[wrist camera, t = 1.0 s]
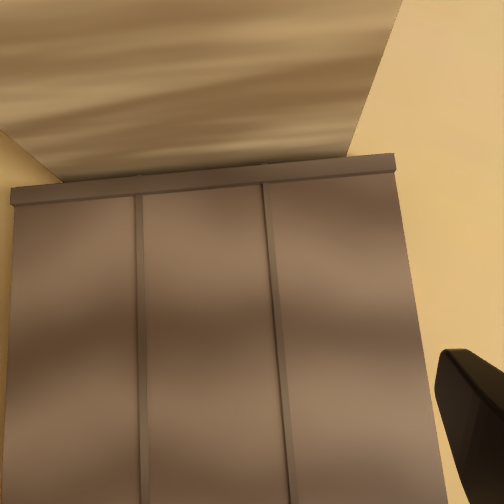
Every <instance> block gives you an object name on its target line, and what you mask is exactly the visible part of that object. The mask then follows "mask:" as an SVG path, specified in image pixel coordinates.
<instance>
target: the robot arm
mask: <svg viewBox="0 0 504 504" xmlns="http://www.w3.org/2000/svg"><path fill="white" fill-rule="evenodd" d="M434 390H435V397H436V401H437V404H438V408H439V411H440V414H441V418H442V421H443V424H444V428H445V431H446V435H447V438H448V441H449V445H450V448H451V451H452V455H453V458H454V461H455V465H456V468H457V471H458V474H459V477H460V480H461V483H462V486H463V488H464V491H465V493H466V496H467V498H468V501H469V503H470V504H504V372H502V371H501V370H499V369H497V368H496V367H494V366H493V365H491V364H490V363H488V362H487V361H485V360H483V359H482V358H480V357H479V356H477V355H476V354H474V353H473V352H471V351H469V350H467V349H445V350H443V351H442V352H441V354H440V357H439V362H438V368H437V374H436V379H435V387H434Z"/></svg>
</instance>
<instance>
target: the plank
mask: <svg viewBox="0 0 504 504" xmlns="http://www.w3.org/2000/svg"><path fill="white" fill-rule="evenodd" d="M401 3H402V0H0V130H1V131H2V132H4V133H5V134H6V135H7V136H8V137H10V138H11V139H12V140H13V141H14V142H16V143H17V144H18V145H19V146H20V147H22V148H23V149H24V150H25V151H26V152H28V153H29V154H30V155H31V156H32V157H34V158H35V159H36V160H37V161H38V162H40V163H41V164H42V165H43V166H44V167H46V168H47V169H48V170H49V171H50V172H52V173H53V174H54V175H55V176H56V177H58V178H59V179H60V180H61V181H62V182H63V183H68V182H79V181H90V180H101V179H112V178H123V177H134V176H135V175H142V176H144V175H155V174H166V173H177V172H188V171H199V170H210V169H221V168H232V167H243V166H254V165H261V163H267V164H275V163H286V162H297V161H308V160H319V159H330V158H341V157H346V154H347V152H348V149H349V146H350V143H351V141H352V138H353V135H354V132H355V130H356V127H357V124H358V121H359V119H360V116H361V113H362V110H363V108H364V105H365V102H366V99H367V97H368V94H369V91H370V88H371V86H372V83H373V80H374V77H375V75H376V72H377V69H378V66H379V64H380V61H381V58H382V55H383V53H384V50H385V47H386V44H387V42H388V39H389V36H390V33H391V31H392V28H393V25H394V22H395V20H396V17H397V14H398V11H399V9H400V6H401Z"/></svg>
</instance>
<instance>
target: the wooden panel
mask: <svg viewBox="0 0 504 504" xmlns="http://www.w3.org/2000/svg"><path fill="white" fill-rule="evenodd" d="M395 171H396V163H395V157H394V153H385V154H374V155H363V156H352V157H341V158H330V159H319V160H308V161H297V162H286V163H275V164H267V163H261V165H254V166H243V167H232V168H221V169H210V170H199V171H188V172H177V173H166V174H155V175H144V176H142V175H135V176H134V177H123V178H112V179H101V180H90V181H79V182H68V183H57V184H46V185H35V186H24V187H16V188H11V196H10V204H11V205H12V206H14V207H15V215H14V236H13V257H12V278H11V300H10V321H9V342H8V363H7V385H6V406H5V427H4V448H3V470H2V491H1V504H448V500H447V493H446V487H445V481H444V475H443V469H442V463H441V457H440V451H439V444H438V438H437V432H436V426H435V420H434V414H433V408H432V401H431V395H430V389H429V383H428V377H427V371H426V365H425V359H424V352H423V346H422V340H421V334H420V328H419V322H418V316H417V309H416V303H415V297H414V291H413V285H412V279H411V273H410V267H409V260H408V254H407V248H406V242H405V236H404V230H403V224H402V217H401V211H400V205H399V199H398V193H397V187H396V181H395V175H394V172H395Z"/></svg>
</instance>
